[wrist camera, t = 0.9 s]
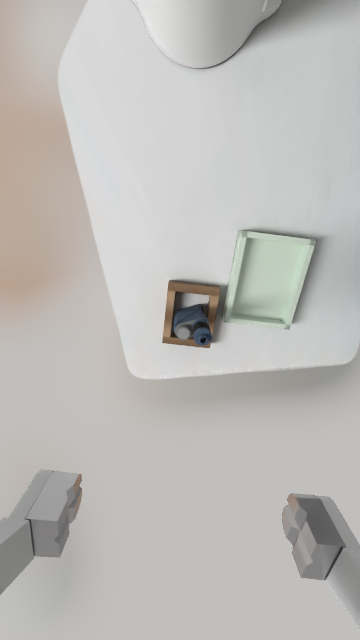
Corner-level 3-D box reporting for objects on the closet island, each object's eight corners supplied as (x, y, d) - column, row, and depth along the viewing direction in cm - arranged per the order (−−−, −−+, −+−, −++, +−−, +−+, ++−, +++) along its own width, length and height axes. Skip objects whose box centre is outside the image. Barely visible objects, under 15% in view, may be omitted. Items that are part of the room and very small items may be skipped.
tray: (238, 230, 35) (242, 230, 33) (307, 239, 36) (316, 240, 33) (221, 317, 40) (224, 322, 38) (283, 324, 40) (289, 329, 38)
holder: (169, 280, 38) (168, 282, 36) (218, 286, 38) (220, 289, 36) (163, 338, 41) (162, 342, 40) (208, 343, 42) (209, 348, 40)
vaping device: (206, 315, 40) (216, 347, 29) (177, 324, 41) (175, 358, 29) (202, 302, 39) (210, 328, 28) (173, 310, 40) (169, 340, 28)
